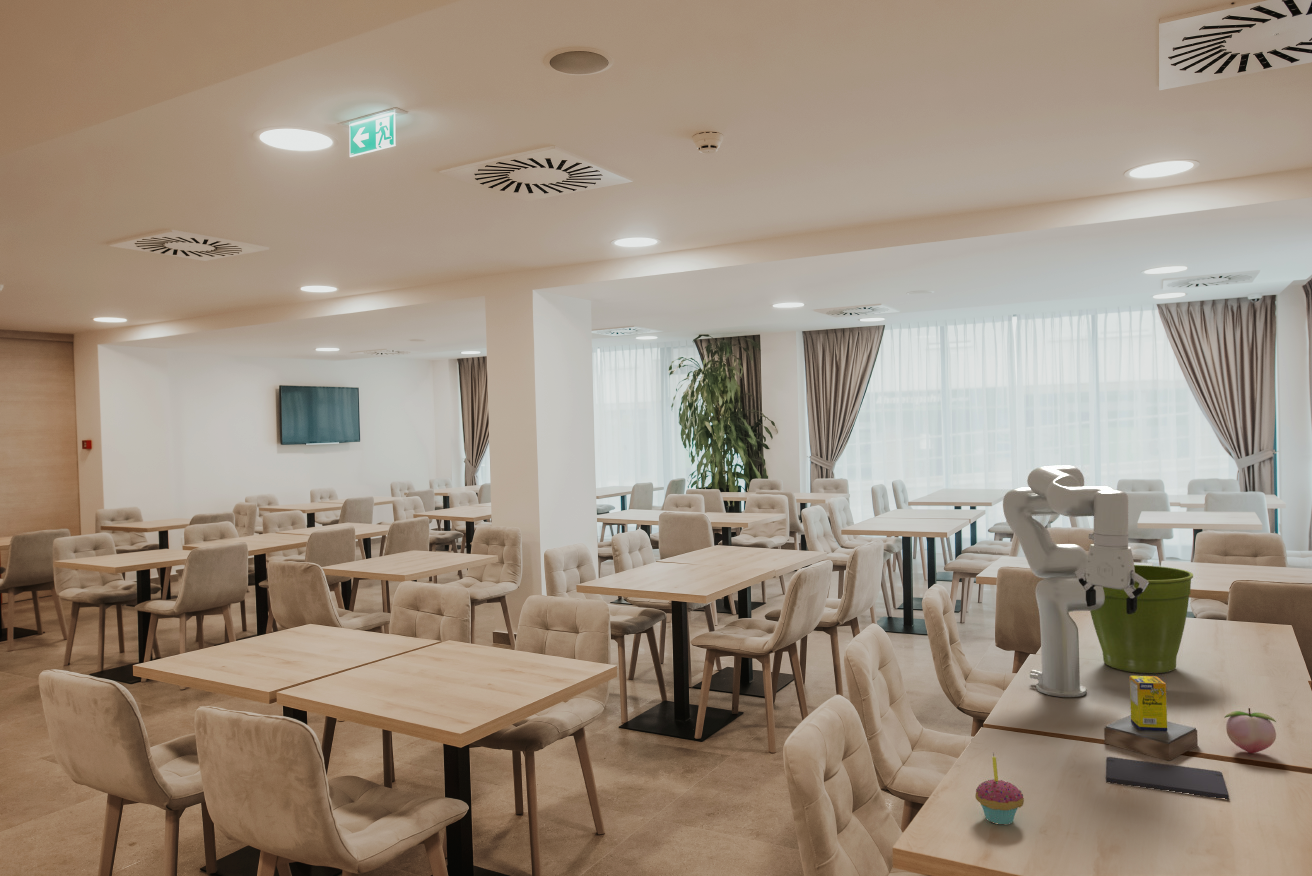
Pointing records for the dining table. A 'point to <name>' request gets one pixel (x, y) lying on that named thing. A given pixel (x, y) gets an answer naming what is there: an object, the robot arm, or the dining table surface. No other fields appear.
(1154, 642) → the plant pot
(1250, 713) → the decorative fruit
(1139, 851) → the dining table surface
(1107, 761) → the notebook
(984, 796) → the cupcake
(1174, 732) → the dock
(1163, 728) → the supplement box
